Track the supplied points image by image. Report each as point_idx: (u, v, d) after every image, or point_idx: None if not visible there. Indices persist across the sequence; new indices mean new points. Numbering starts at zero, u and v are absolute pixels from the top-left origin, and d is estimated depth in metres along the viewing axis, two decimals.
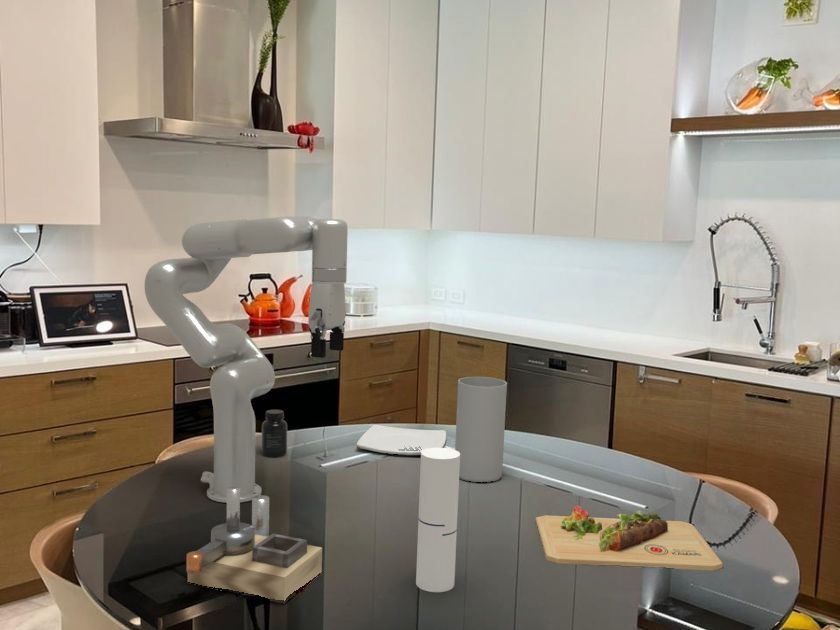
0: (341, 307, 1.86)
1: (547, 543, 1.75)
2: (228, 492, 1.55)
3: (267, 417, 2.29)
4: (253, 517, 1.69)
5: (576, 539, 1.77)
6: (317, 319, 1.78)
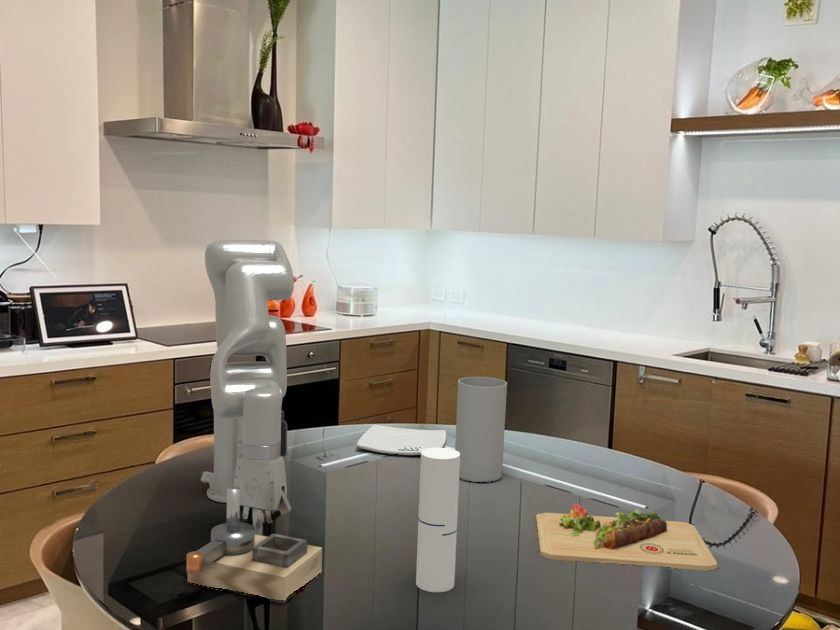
0: None
1: (542, 540, 1.77)
2: (228, 492, 1.55)
3: None
4: (253, 517, 1.69)
5: (572, 536, 1.78)
6: None
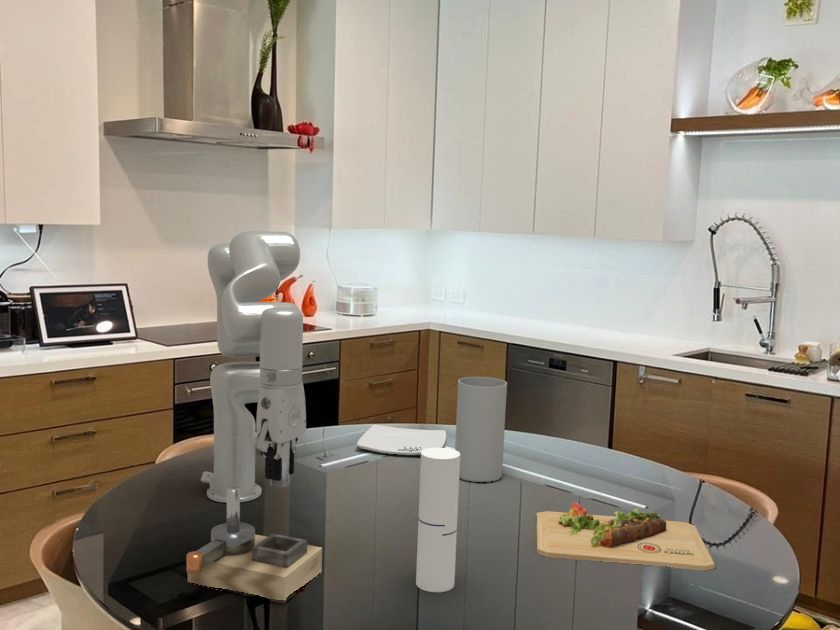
0: None
1: (540, 537, 1.78)
2: (228, 492, 1.55)
3: None
4: (285, 452, 1.52)
5: (570, 534, 1.79)
6: None
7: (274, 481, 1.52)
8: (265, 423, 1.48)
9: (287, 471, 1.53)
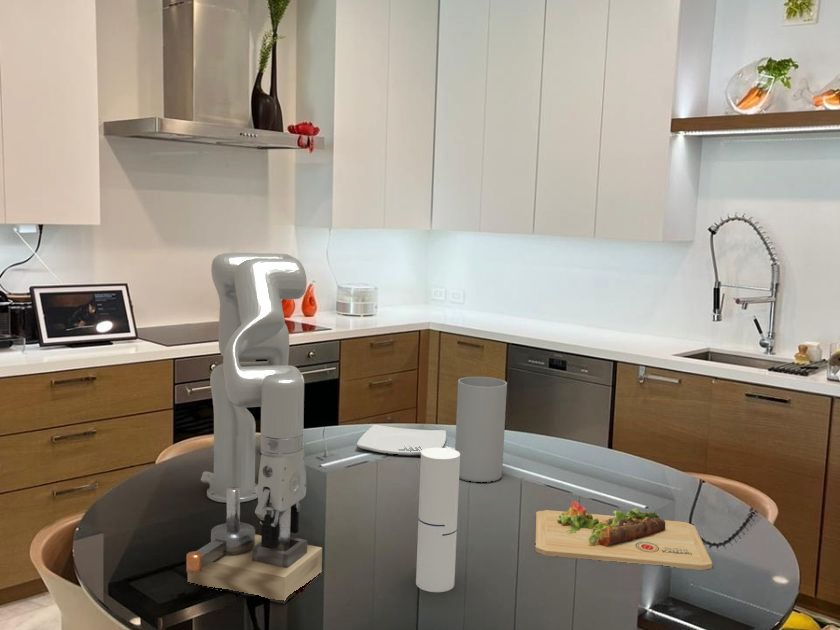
0: None
1: (539, 536, 1.78)
2: (228, 492, 1.55)
3: None
4: (286, 526, 1.52)
5: (569, 533, 1.80)
6: None
7: None
8: (266, 489, 1.48)
9: (288, 544, 1.53)
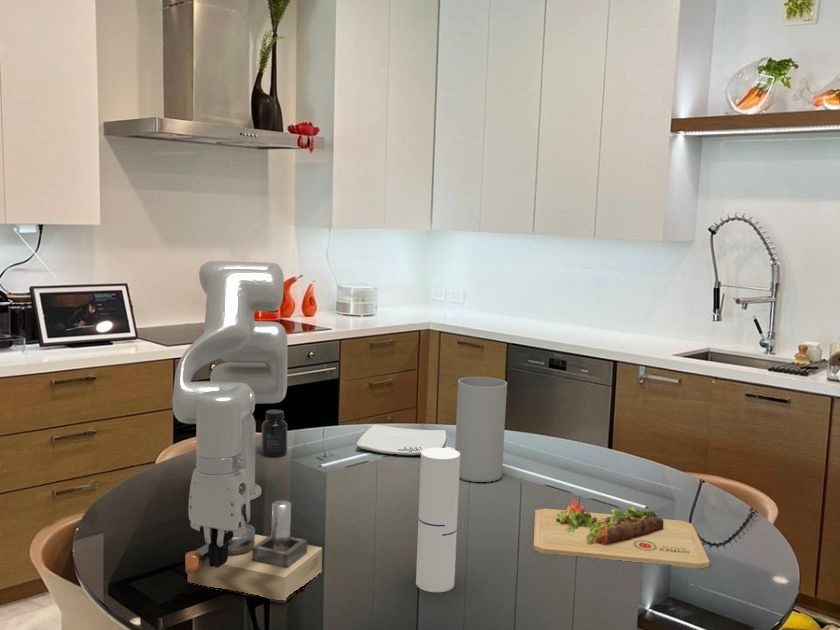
0: (219, 507, 1.44)
1: (537, 534, 1.79)
2: None
3: (267, 417, 2.29)
4: (286, 525, 1.52)
5: (567, 531, 1.80)
6: None
7: None
8: None
9: (288, 544, 1.53)
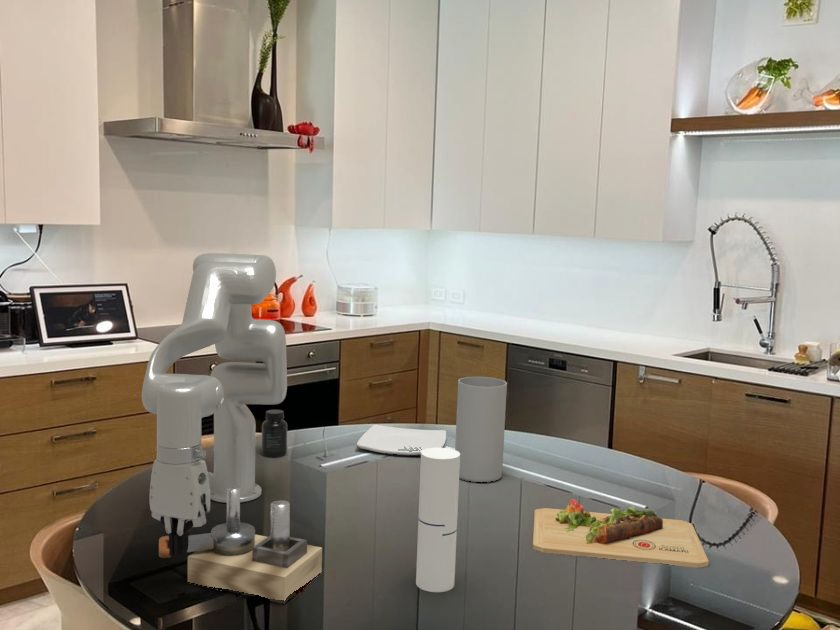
0: (178, 497, 1.46)
1: (536, 533, 1.80)
2: None
3: (267, 417, 2.29)
4: (285, 525, 1.52)
5: (566, 531, 1.81)
6: None
7: None
8: None
9: (287, 544, 1.53)
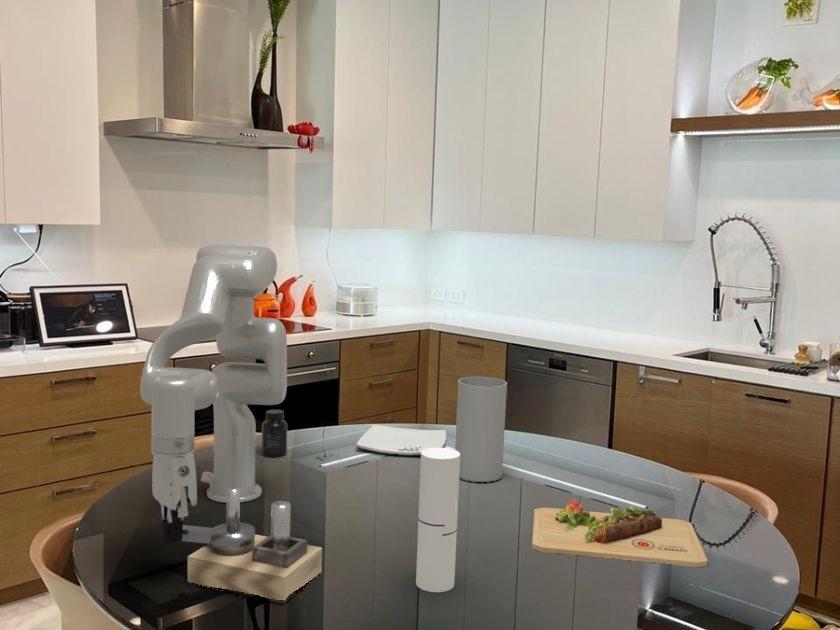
0: (163, 485, 1.52)
1: (536, 533, 1.80)
2: None
3: (267, 417, 2.29)
4: (285, 526, 1.52)
5: (565, 530, 1.81)
6: None
7: None
8: (182, 492, 1.52)
9: (287, 544, 1.53)
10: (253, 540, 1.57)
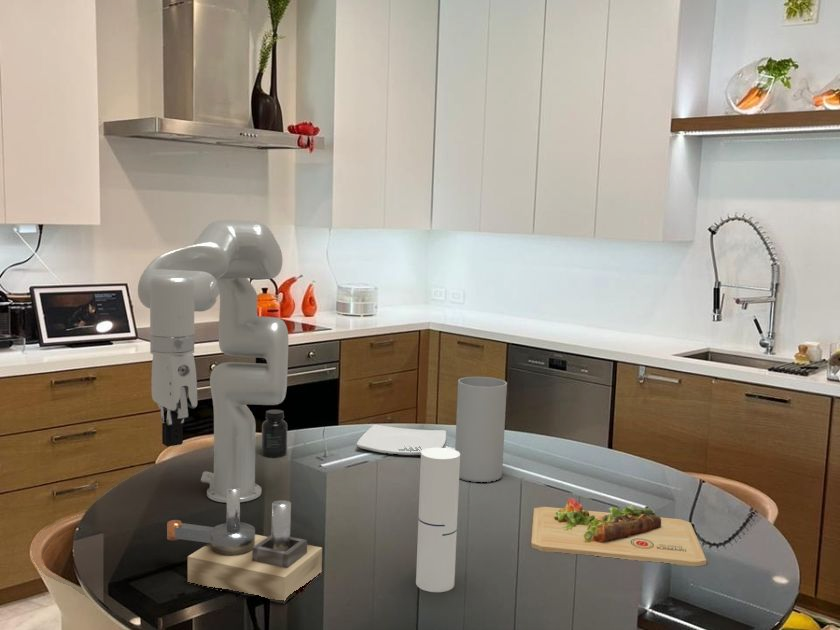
0: (163, 386, 1.48)
1: (535, 532, 1.81)
2: None
3: (267, 417, 2.29)
4: (285, 525, 1.52)
5: (565, 529, 1.82)
6: None
7: None
8: (181, 392, 1.48)
9: (287, 544, 1.53)
10: (252, 541, 1.57)
